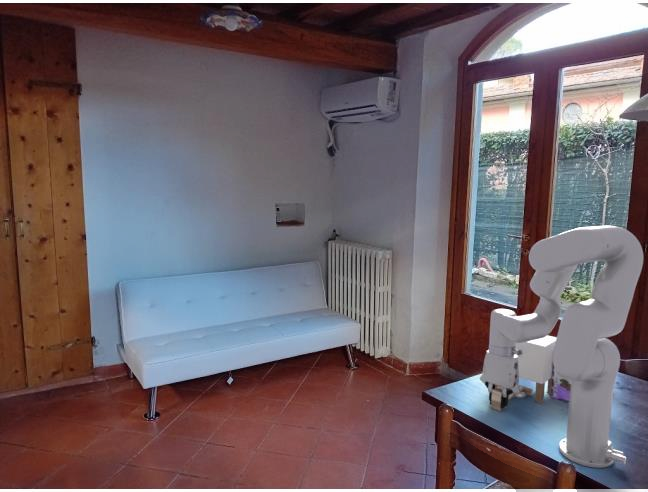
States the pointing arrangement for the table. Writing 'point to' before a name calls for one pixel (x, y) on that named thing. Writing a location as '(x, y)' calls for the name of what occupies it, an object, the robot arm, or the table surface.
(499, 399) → the wooden mallet
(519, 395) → the token
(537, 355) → the cabinet
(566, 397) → the candy box
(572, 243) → the robot arm
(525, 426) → the table surface
